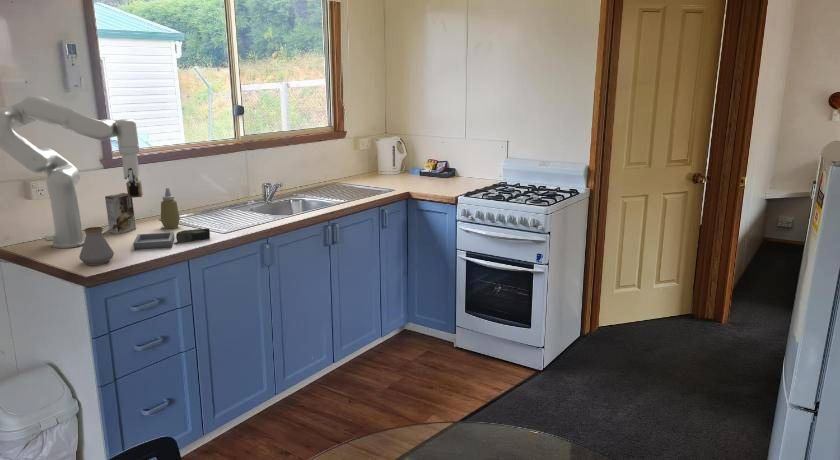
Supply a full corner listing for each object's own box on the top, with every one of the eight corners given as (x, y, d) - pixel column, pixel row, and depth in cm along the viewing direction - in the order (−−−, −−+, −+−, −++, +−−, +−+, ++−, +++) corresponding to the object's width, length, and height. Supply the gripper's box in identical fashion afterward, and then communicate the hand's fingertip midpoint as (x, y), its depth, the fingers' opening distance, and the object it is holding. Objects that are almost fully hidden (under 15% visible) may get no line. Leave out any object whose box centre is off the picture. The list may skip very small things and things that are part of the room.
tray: (134, 250, 245) (133, 243, 245) (138, 241, 258) (137, 234, 258) (171, 247, 249) (171, 240, 249) (174, 238, 262) (173, 231, 262)
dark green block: (208, 227, 264) (171, 231, 255) (210, 228, 262) (174, 233, 253) (208, 238, 265) (172, 243, 256) (211, 239, 263) (174, 244, 254)
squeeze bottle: (160, 226, 283) (156, 187, 278) (179, 224, 286) (175, 186, 282) (162, 230, 276) (158, 190, 271) (181, 228, 279) (178, 189, 275)
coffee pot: (90, 269, 223) (85, 228, 219) (74, 263, 229) (68, 224, 225) (145, 255, 240) (141, 217, 236) (128, 250, 246) (124, 213, 242)
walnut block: (128, 197, 252) (126, 183, 250) (129, 195, 257) (127, 181, 255) (141, 196, 254) (139, 182, 252) (142, 194, 258) (140, 180, 257)
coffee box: (127, 227, 280) (123, 192, 276) (136, 229, 277) (132, 194, 272) (108, 231, 272) (104, 196, 268) (117, 234, 269) (113, 197, 265)
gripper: (121, 148, 257) (127, 191, 261) (116, 153, 241) (122, 199, 246) (141, 147, 259) (146, 189, 264) (137, 152, 243) (143, 197, 248)
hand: (135, 193), depth 255 cm, fingers closed on walnut block, 5 cm apart
